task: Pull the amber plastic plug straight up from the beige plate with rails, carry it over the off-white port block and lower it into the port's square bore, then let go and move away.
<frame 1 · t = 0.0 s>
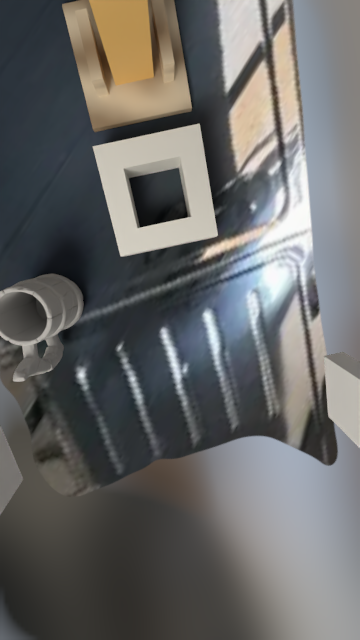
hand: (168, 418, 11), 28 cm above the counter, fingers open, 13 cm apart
beige plate with rail: (130, 63, 31), on the counter
plug: (129, 58, 30), point 1 cm above the counter, touching beige plate with rail
port: (159, 200, 35), on the counter
mug: (60, 314, 38), on the counter
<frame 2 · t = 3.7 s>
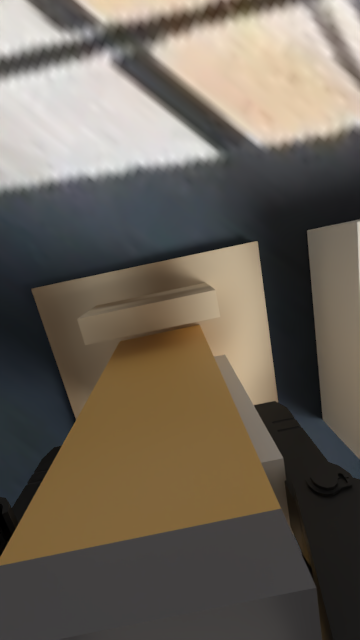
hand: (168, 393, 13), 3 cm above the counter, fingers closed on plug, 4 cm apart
beige plate with rail: (168, 364, 16), on the counter
plug: (168, 369, 15), point 1 cm above the counter, touching gripper, beige plate with rail
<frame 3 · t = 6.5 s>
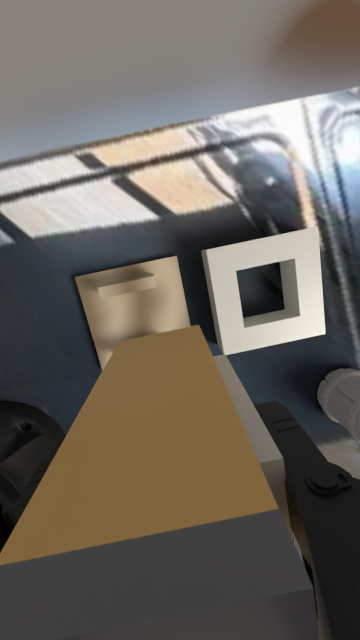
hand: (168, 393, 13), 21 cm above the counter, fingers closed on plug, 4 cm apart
beige plate with rail: (138, 314, 33), on the counter
plug: (167, 369, 15), point 18 cm above the counter, touching gripper
port: (256, 289, 33), on the counter
mug: (354, 389, 38), on the counter
when the fingers open (6 cm above the counter, at t = 9.2 s): plug drops 3 cm, resting in port.
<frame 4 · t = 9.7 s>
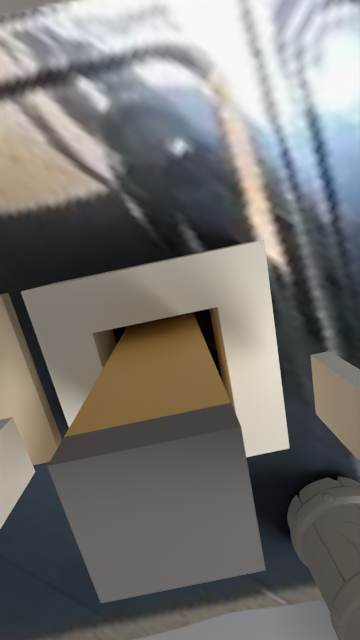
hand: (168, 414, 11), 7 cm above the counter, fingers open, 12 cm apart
plug: (167, 351, 18), resting in port
port: (168, 351, 18), on the counter
mug: (350, 507, 22), on the counter
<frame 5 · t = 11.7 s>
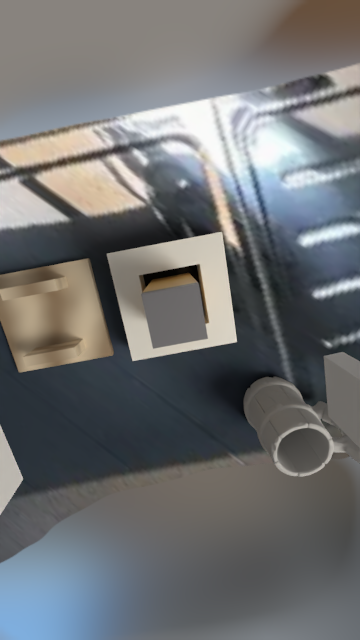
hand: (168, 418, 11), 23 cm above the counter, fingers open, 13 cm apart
beige plate with rail: (54, 316, 33), on the counter
plug: (173, 294, 33), resting in port
port: (174, 294, 33), on the counter
mug: (282, 398, 37), on the counter
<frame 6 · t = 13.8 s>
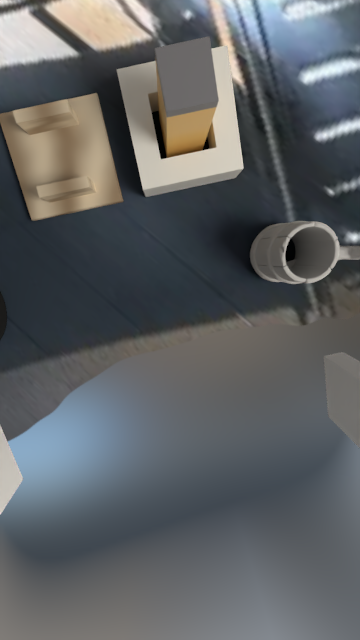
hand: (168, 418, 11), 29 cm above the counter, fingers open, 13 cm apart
beige plate with rail: (65, 161, 34), on the counter
plug: (180, 136, 34), resting in port
port: (181, 136, 34), on the counter
mug: (288, 253, 38), on the counter
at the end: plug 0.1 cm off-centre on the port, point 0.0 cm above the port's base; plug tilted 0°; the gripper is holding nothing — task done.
